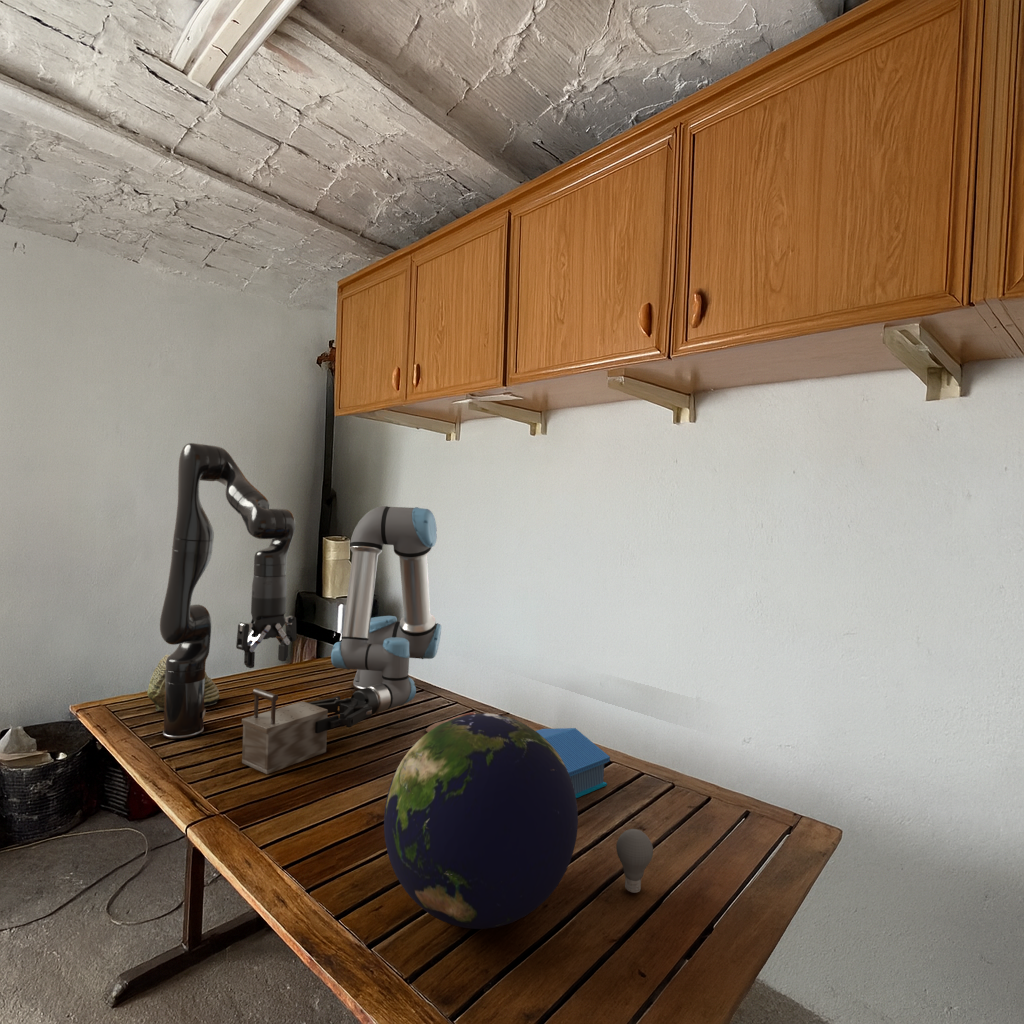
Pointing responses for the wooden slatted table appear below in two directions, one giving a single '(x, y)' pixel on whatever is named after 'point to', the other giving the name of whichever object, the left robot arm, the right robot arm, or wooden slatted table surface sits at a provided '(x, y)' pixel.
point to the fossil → (158, 687)
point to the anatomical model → (446, 721)
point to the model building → (578, 758)
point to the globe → (480, 821)
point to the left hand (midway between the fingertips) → (266, 663)
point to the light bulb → (634, 857)
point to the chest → (282, 746)
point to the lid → (280, 713)
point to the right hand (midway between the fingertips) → (302, 722)
